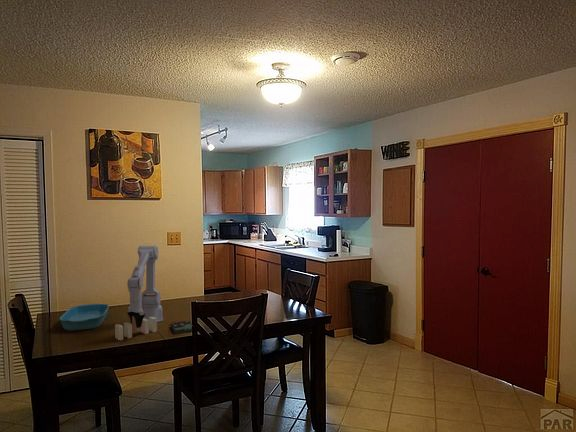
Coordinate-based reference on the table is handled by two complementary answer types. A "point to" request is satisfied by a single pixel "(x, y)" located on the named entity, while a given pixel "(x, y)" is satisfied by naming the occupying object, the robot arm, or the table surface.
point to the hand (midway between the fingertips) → (136, 326)
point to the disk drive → (181, 327)
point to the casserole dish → (84, 316)
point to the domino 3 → (134, 325)
